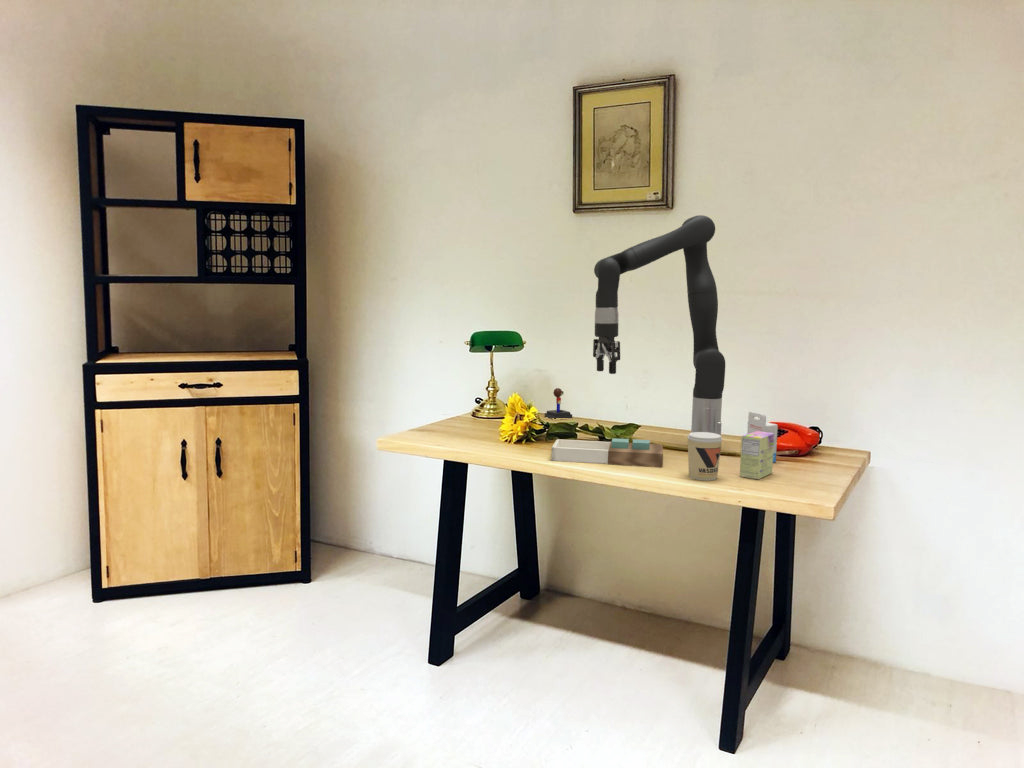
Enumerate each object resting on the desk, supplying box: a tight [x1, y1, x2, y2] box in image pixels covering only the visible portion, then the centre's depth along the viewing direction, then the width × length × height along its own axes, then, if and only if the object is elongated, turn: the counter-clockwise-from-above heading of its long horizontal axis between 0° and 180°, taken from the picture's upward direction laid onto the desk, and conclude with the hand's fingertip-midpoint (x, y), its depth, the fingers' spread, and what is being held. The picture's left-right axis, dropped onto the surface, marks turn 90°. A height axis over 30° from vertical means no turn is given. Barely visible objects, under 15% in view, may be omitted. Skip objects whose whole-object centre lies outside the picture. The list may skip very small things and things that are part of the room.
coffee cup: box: [687, 432, 723, 481], centre depth 212 cm, size 9×9×12 cm
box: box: [739, 431, 774, 480], centre depth 216 cm, size 10×6×12 cm, turn 141°
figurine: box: [544, 387, 573, 419], centre depth 304 cm, size 8×8×12 cm
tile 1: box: [611, 437, 630, 449], centre depth 232 cm, size 5×5×2 cm
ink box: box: [746, 411, 779, 463], centre depth 234 cm, size 9×5×15 cm, turn 21°
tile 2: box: [632, 439, 651, 450], centre depth 231 cm, size 5×5×2 cm
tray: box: [551, 438, 612, 465], centre depth 235 cm, size 17×13×4 cm
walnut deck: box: [607, 441, 664, 468], centre depth 232 cm, size 16×14×4 cm
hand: (606, 372), depth 244 cm, fingers open, 8 cm apart
